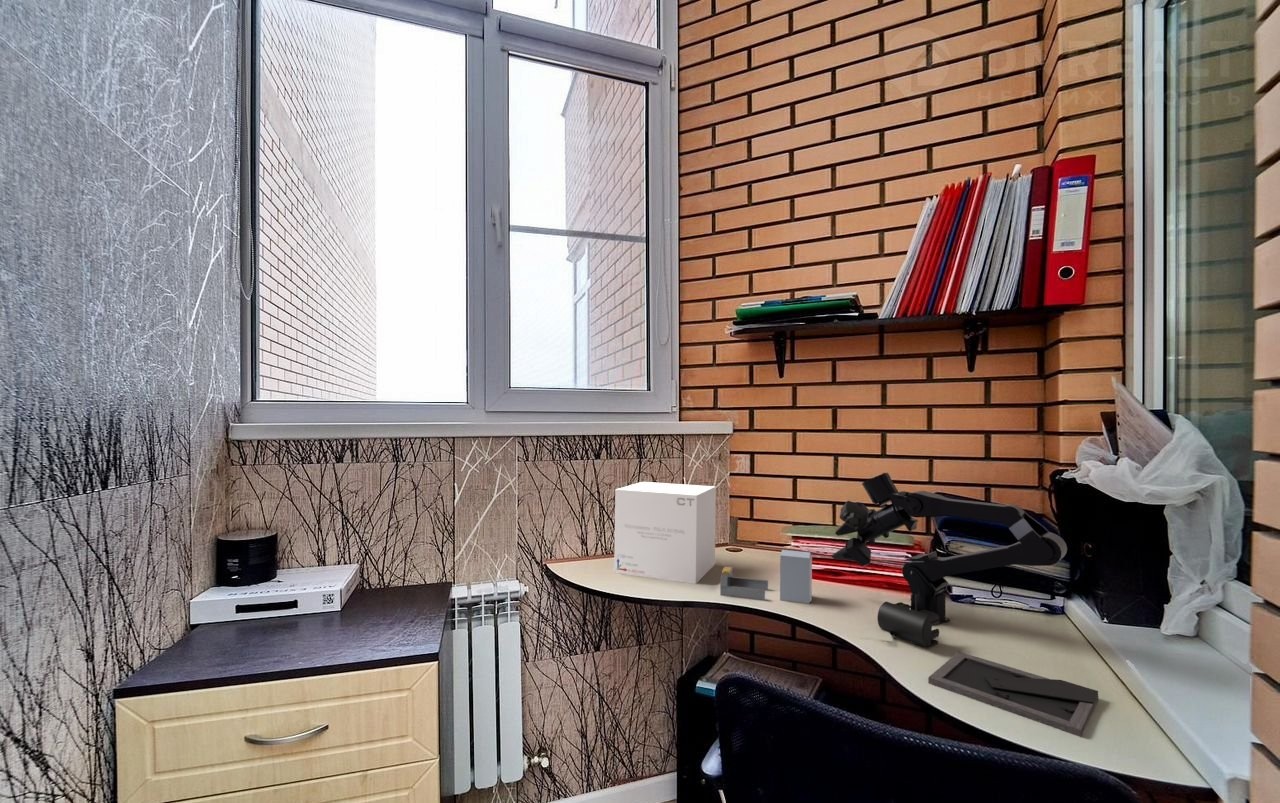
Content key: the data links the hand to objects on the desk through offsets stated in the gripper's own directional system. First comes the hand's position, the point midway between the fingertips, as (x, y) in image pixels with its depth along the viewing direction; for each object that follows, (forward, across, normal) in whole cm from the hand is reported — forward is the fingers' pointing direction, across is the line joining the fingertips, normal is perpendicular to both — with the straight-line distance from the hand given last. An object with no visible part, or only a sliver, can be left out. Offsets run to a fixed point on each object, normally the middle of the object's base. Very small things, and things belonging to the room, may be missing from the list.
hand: (834, 545), depth 143 cm
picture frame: (-30, +41, +14) cm, 53 cm away
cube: (+45, +6, -21) cm, 50 cm away
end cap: (-14, +27, +10) cm, 32 cm away
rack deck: (+14, +18, -5) cm, 23 cm away
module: (+9, +16, -2) cm, 19 cm away
